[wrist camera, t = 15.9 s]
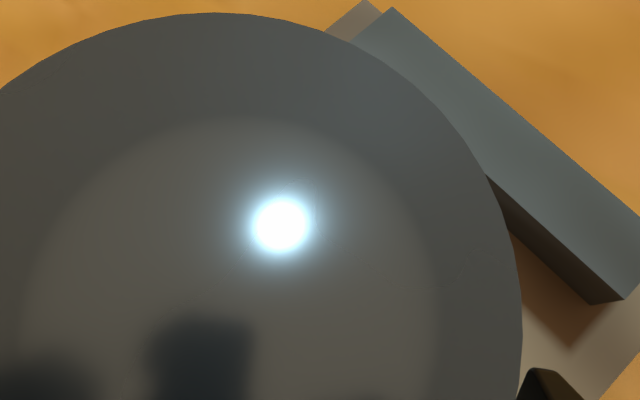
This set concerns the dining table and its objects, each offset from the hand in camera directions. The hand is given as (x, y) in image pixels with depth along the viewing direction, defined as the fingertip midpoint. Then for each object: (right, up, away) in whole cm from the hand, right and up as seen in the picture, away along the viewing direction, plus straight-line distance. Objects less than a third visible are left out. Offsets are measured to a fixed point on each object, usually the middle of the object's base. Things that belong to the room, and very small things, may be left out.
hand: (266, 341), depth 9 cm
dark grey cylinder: (0, -2, +8) cm, 8 cm away
